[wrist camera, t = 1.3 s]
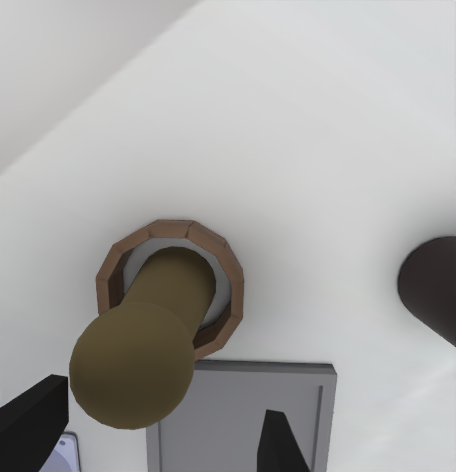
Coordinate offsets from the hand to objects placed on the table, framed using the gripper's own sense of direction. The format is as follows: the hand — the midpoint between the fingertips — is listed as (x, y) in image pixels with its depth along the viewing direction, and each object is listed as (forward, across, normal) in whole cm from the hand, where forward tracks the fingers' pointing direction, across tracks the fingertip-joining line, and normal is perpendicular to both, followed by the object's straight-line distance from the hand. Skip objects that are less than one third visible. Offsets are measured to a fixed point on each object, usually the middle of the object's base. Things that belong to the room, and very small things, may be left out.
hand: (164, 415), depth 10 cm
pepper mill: (+12, +2, +1) cm, 12 cm away
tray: (+11, -4, +13) cm, 18 cm away
